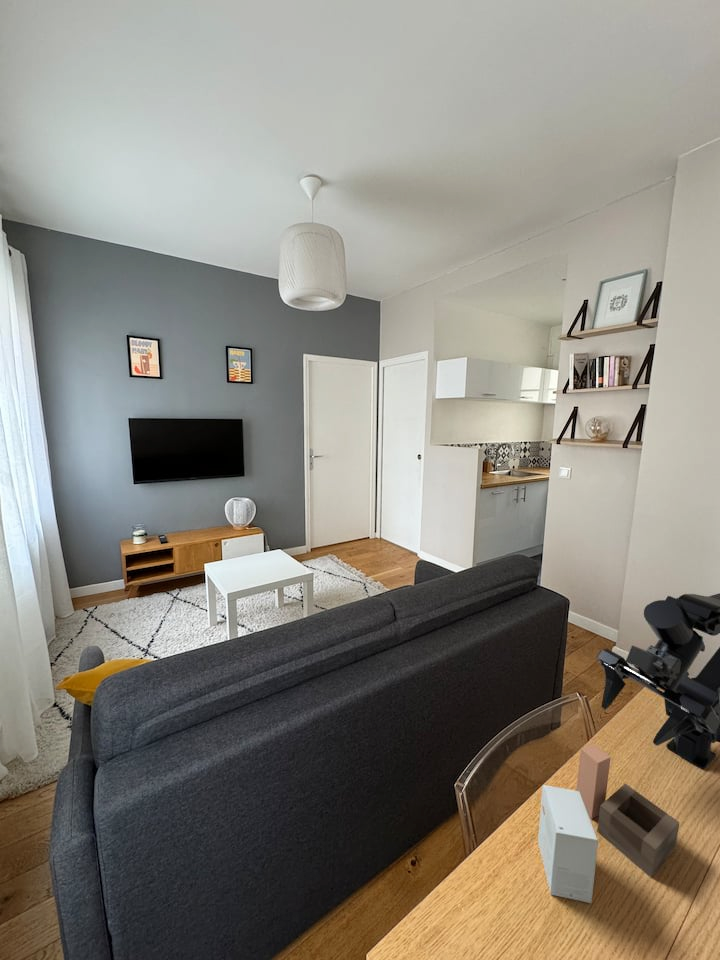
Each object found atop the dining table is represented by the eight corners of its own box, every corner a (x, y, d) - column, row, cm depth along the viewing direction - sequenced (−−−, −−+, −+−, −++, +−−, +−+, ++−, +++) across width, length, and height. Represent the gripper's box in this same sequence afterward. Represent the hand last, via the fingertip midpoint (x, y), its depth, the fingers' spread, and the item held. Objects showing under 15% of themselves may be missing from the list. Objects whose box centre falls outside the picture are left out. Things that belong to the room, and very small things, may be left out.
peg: (587, 796, 73) (593, 743, 72) (603, 812, 70) (610, 756, 69) (574, 803, 72) (580, 748, 70) (591, 819, 69) (598, 763, 68)
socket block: (621, 808, 71) (625, 783, 71) (675, 849, 65) (679, 822, 64) (597, 831, 67) (600, 805, 66) (651, 877, 60) (655, 849, 60)
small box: (592, 905, 57) (599, 842, 55) (549, 895, 58) (556, 833, 56) (574, 847, 65) (580, 790, 63) (536, 839, 66) (542, 783, 64)
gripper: (607, 609, 81) (563, 673, 78) (721, 661, 64) (669, 745, 61) (628, 638, 85) (587, 700, 82) (739, 693, 68) (692, 773, 65)
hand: (627, 725), depth 72 cm, fingers open, 9 cm apart
